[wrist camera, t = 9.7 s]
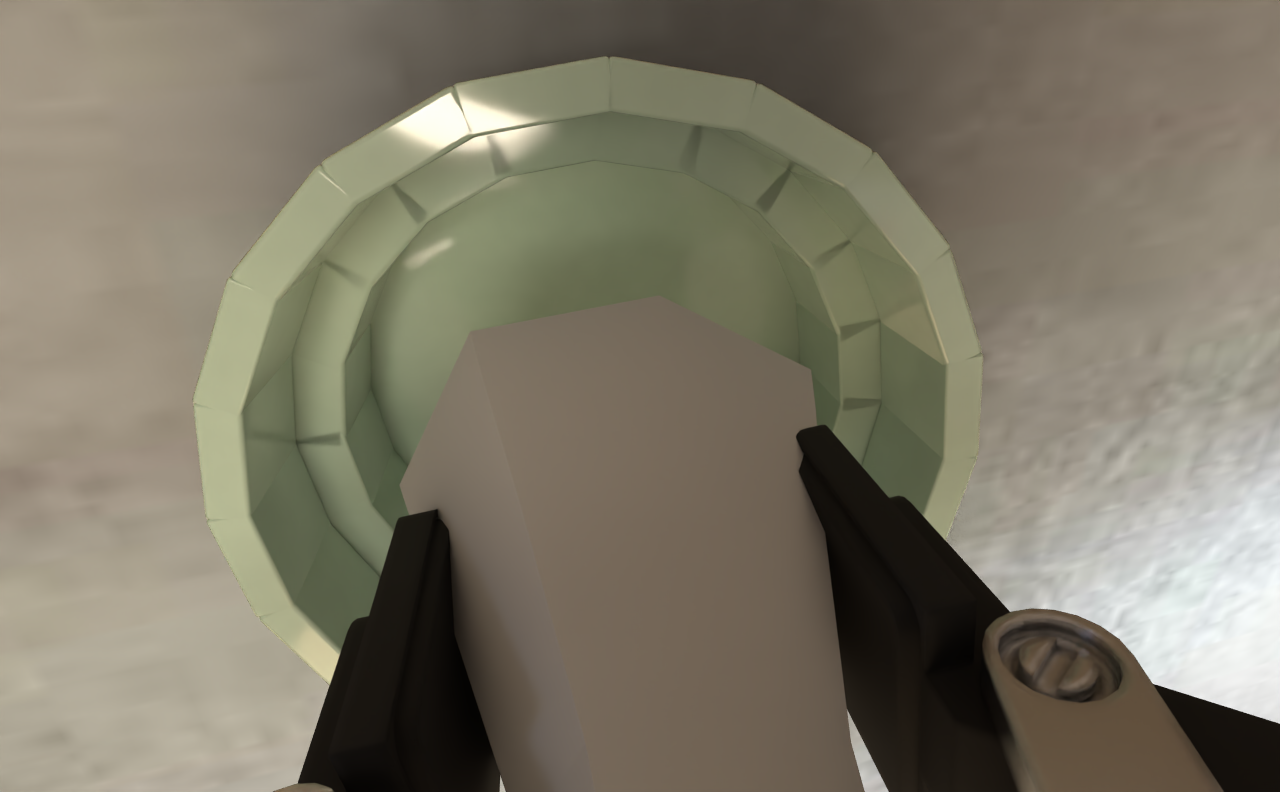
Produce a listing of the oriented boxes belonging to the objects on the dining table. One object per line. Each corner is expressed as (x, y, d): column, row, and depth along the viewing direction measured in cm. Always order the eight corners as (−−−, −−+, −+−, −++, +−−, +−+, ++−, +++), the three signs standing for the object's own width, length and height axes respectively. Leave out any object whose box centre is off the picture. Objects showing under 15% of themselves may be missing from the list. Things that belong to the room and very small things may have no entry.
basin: (835, 16, 15) (1005, -18, 10) (854, 519, 21) (967, 673, 16) (208, 131, 14) (13, 162, 9) (407, 621, 20) (362, 821, 15)
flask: (870, 318, 11) (2115, 1185, 2) (765, 655, 14) (1174, 1644, 5) (411, 258, 10) (-610, 1822, 1) (394, 647, 13) (79, 1988, 4)
